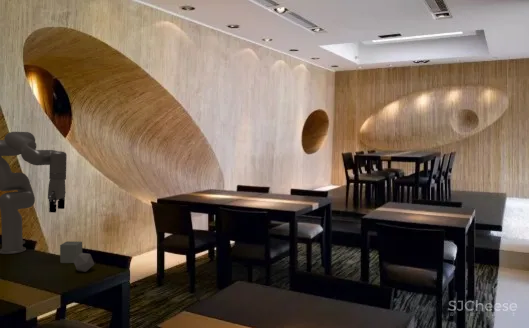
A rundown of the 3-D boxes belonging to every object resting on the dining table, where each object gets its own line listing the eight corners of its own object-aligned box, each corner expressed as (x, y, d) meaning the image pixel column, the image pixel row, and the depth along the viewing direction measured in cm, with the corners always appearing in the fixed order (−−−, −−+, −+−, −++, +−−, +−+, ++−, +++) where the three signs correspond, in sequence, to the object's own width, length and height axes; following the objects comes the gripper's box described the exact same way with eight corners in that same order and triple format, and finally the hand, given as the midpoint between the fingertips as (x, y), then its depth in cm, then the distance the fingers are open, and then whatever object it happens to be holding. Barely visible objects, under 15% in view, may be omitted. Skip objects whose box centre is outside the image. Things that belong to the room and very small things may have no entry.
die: (98, 270, 205) (94, 252, 209) (90, 266, 197) (86, 247, 201) (81, 277, 204) (77, 258, 208) (72, 273, 196) (69, 253, 200)
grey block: (66, 258, 222) (66, 241, 221) (82, 258, 222) (82, 241, 222) (60, 263, 214) (60, 245, 214) (76, 263, 214) (76, 245, 214)
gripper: (57, 174, 227) (56, 207, 228) (42, 177, 209) (41, 213, 211) (72, 175, 227) (71, 207, 228) (58, 178, 210) (57, 214, 211)
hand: (56, 210), depth 219 cm, fingers open, 9 cm apart
